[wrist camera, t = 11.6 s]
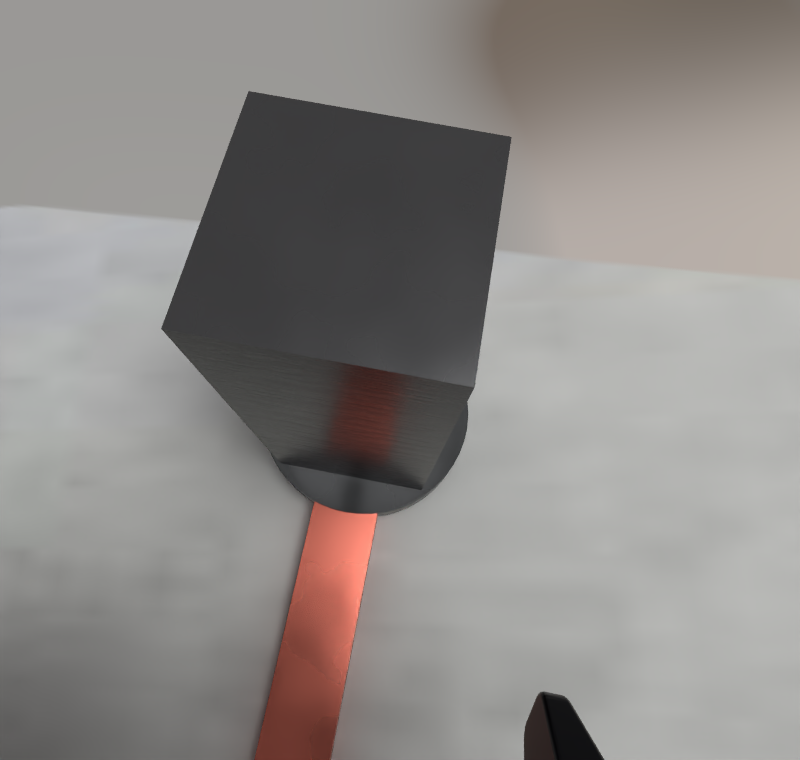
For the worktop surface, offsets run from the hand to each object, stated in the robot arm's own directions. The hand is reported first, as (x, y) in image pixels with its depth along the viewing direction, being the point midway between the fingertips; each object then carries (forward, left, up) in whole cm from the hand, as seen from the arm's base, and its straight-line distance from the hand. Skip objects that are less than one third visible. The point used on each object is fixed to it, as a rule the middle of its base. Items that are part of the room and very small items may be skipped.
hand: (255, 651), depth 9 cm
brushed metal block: (+7, +2, -11) cm, 13 cm away
